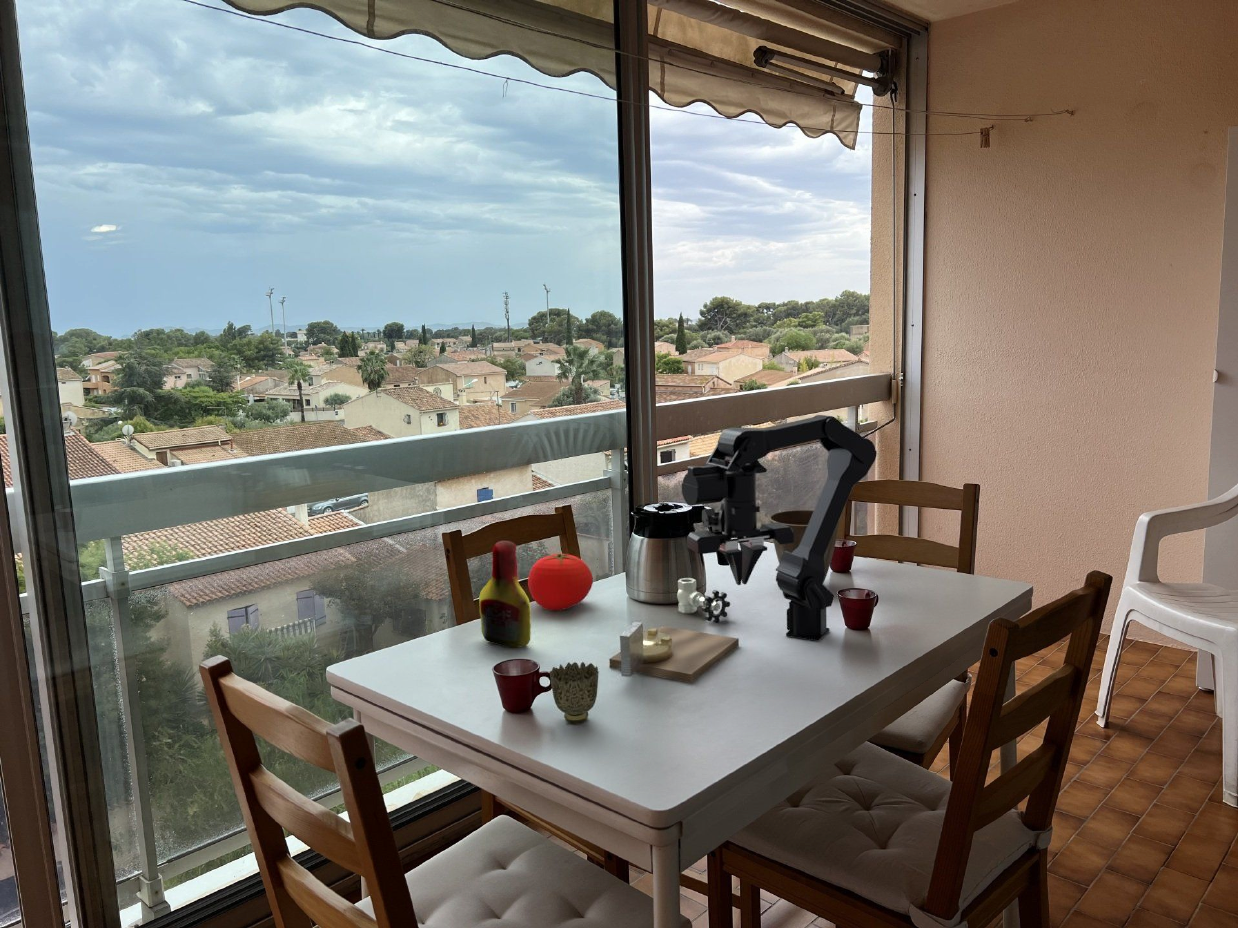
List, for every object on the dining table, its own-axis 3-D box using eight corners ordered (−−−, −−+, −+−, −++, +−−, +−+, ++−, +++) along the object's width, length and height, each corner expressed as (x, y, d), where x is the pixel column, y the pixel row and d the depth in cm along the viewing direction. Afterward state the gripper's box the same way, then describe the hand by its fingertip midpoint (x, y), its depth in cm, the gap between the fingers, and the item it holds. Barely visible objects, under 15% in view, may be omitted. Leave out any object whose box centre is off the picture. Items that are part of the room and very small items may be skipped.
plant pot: (846, 596, 193) (846, 523, 190) (776, 599, 193) (775, 525, 191) (831, 577, 208) (831, 508, 205) (766, 579, 208) (764, 511, 205)
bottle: (541, 645, 171) (535, 541, 168) (516, 655, 166) (509, 549, 163) (499, 632, 179) (493, 533, 176) (474, 641, 174) (467, 540, 171)
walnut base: (738, 646, 166) (738, 638, 166) (691, 682, 150) (690, 674, 150) (662, 633, 175) (662, 625, 174) (609, 666, 159) (609, 658, 159)
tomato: (545, 595, 202) (542, 544, 200) (601, 600, 197) (599, 548, 196) (518, 613, 191) (515, 559, 189) (577, 618, 186) (575, 563, 184)
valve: (668, 611, 188) (704, 626, 178) (668, 580, 187) (703, 594, 177) (694, 605, 192) (730, 619, 182) (693, 575, 191) (730, 587, 180)
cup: (551, 711, 141) (549, 662, 140) (599, 708, 142) (596, 659, 141) (552, 732, 134) (549, 681, 133) (602, 729, 135) (599, 677, 133)
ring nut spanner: (631, 642, 165) (629, 605, 164) (678, 646, 162) (677, 608, 161) (600, 674, 151) (598, 633, 150) (652, 679, 148) (650, 638, 147)
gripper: (766, 487, 172) (766, 567, 174) (674, 496, 166) (676, 579, 168) (795, 497, 161) (795, 582, 163) (698, 507, 155) (700, 595, 158)
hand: (741, 584), depth 163 cm, fingers closed
